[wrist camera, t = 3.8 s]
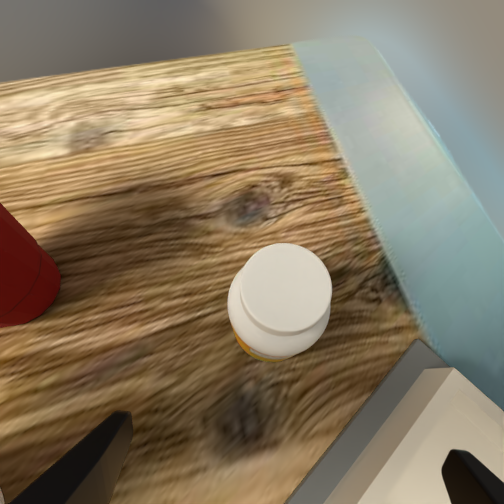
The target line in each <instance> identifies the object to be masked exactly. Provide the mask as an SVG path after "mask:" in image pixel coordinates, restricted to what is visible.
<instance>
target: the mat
mask: <svg viewBox="0 0 504 504" xmlns="http://www.w3.org/2000/svg"><path fill="white" fill-rule="evenodd" d="M433 368H451V367H449V366H448V365H447V364H446V363H445V362H444V361H443V360H442V359H440V358H439V357H438V356H437V355H436V354H435V353H434V352H433V351H432V350H430V349H429V348H428V347H427V346H426V345H425V344H424V343H423V342H421V341H420V340H419V339H416V340H414V341H413V343H412V344H411V345H410V346H409V348H408V349H407V350H406V351H405V353H404V354H403V355H402V356H401V358H400V359H399V360H398V361H397V363H396V364H395V365H394V366H393V368H392V369H391V370H390V371H389V373H388V374H387V375H386V376H385V378H384V379H383V380H382V381H381V383H380V384H379V385H378V386H377V388H376V389H375V390H374V391H373V393H372V394H371V395H370V396H369V398H368V399H367V400H366V401H365V403H364V404H363V405H362V406H361V408H360V409H359V410H358V411H357V413H356V414H355V415H354V416H353V418H352V419H351V420H350V421H349V423H348V424H347V425H346V426H345V428H344V429H343V430H342V431H341V433H340V434H339V435H338V436H337V438H336V439H335V440H334V441H333V443H332V444H331V445H330V446H329V448H328V449H327V450H326V451H325V453H324V454H323V455H322V456H321V458H320V459H319V460H318V461H317V463H316V464H315V465H314V466H313V468H312V469H311V470H310V471H309V473H308V474H307V475H306V476H305V478H304V479H303V480H302V481H301V483H300V484H299V485H298V486H297V488H296V489H295V490H294V491H293V493H292V494H291V495H290V496H289V498H288V499H287V500H286V501H285V503H284V504H323V503H324V502H325V501H326V499H327V498H328V497H329V495H330V494H331V493H332V491H333V490H334V489H335V487H336V486H337V485H338V483H339V482H340V481H341V479H342V478H343V477H344V475H345V474H346V473H347V471H348V470H349V469H350V467H351V466H352V465H353V463H354V462H355V461H356V459H357V458H358V457H359V455H360V454H361V453H362V451H363V450H364V449H365V447H366V446H367V445H368V443H369V442H370V441H371V439H372V438H373V437H374V436H375V434H376V433H377V432H378V430H379V429H380V428H381V426H382V425H383V424H384V422H385V421H386V420H387V418H388V417H389V416H390V414H391V413H392V412H393V410H394V409H395V408H396V406H397V405H398V404H399V402H400V401H401V400H402V398H403V397H404V396H405V394H406V393H407V392H408V390H409V389H410V388H411V386H412V385H413V384H414V382H415V381H416V380H417V378H418V377H419V376H420V374H421V373H422V372H423V370H424V369H433Z"/></svg>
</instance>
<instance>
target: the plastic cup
mask: <svg viewBox="0 0 504 504" xmlns="http://www.w3.org/2000/svg"><path fill="white" fill-rule="evenodd" d="M60 280H61V275H60V272H59V270H58V267H57V265H56V264H55V262H54V260H53V259H52V258H51V257H50V256H49V255H48V254H47V253H46V252H45V251H44V250H43V249H42V248H41V247H40V246H39V245H38V244H37V242H36V240H35V239H34V238H33V237H32V236H31V235H30V234H29V233H28V232H27V231H26V229H25V228H24V227H23V226H22V225H21V224H20V223H19V222H18V221H17V220H16V219H15V218H14V217H13V216H12V215H11V214H10V213H9V212H8V211H7V210H6V208H5V207H4V206H3V205H2V204H1V203H0V328H2V327H7V326H13V325H19V324H24V323H27V322H29V321H31V320H32V319H34V318H36V317H38V316H40V315H41V314H42V313H43V312H44V311H45V310H46V309H47V308H48V307H49V306H50V305H51V304H52V303H53V301H54V299H55V297H56V295H57V293H58V291H59V289H60Z"/></svg>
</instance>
